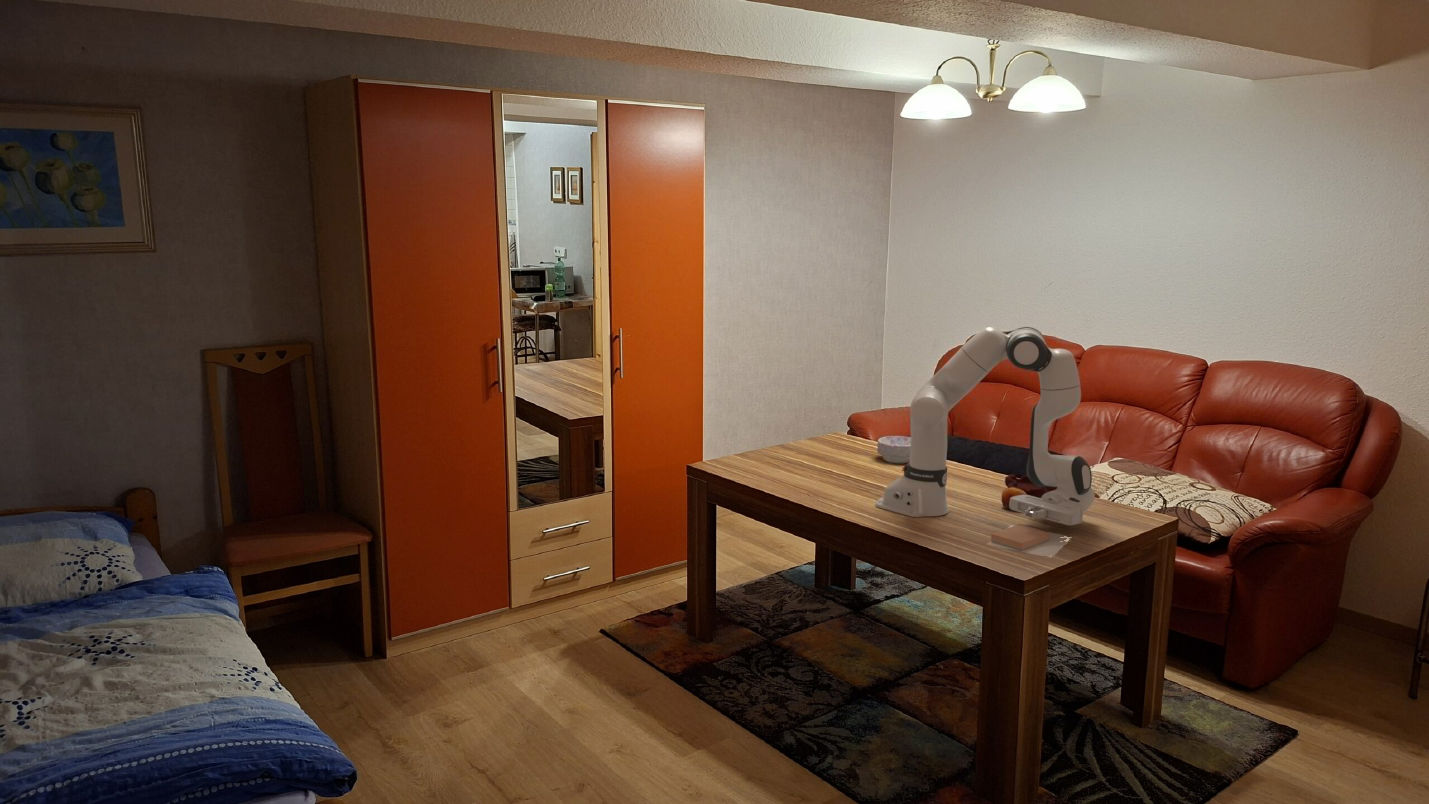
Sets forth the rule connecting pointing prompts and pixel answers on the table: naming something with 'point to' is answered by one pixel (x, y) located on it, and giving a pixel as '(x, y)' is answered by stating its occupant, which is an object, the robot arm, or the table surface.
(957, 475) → the table surface
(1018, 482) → the ashtray
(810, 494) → the table surface
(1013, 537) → the tile
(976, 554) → the table surface
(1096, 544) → the table surface
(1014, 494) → the fruit
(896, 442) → the white patterned bowl
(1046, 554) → the mat
